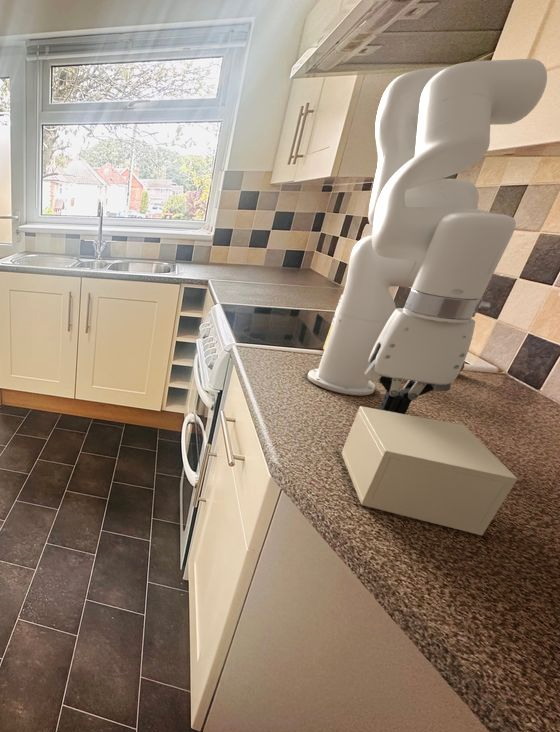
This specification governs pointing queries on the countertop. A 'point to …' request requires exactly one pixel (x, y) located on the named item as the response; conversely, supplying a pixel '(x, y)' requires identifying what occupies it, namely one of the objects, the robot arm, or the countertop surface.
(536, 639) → the countertop surface
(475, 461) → the cream box with lid
